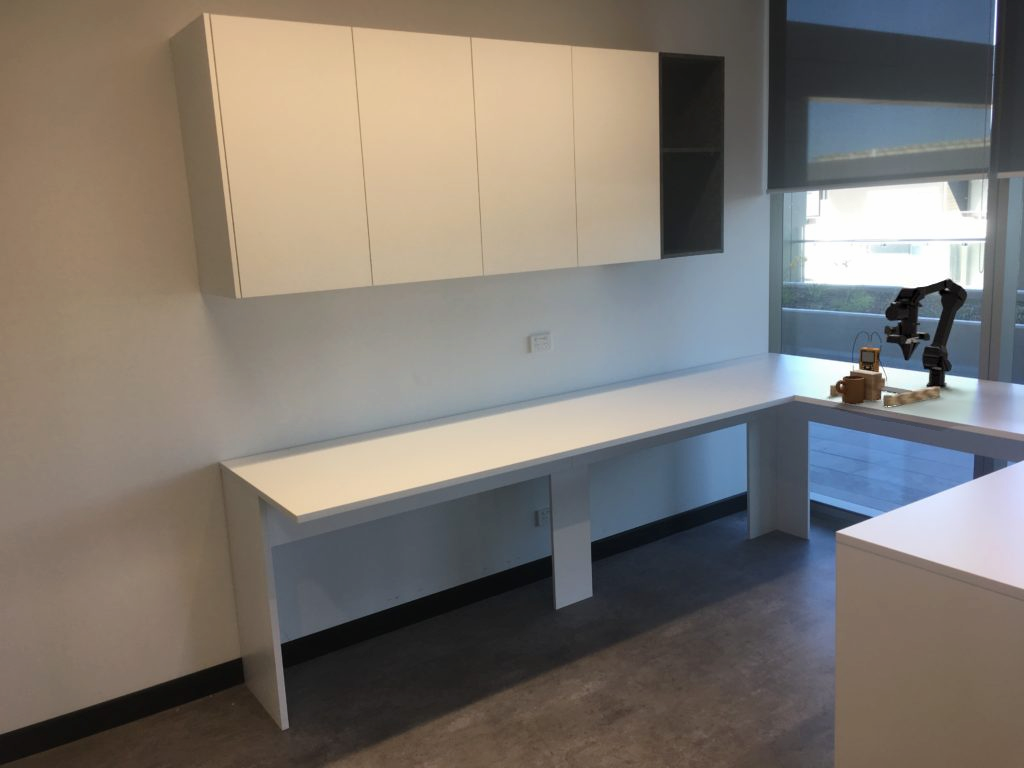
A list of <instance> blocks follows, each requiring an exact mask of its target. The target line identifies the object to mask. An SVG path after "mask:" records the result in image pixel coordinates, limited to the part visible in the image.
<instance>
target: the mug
mask: <svg viewBox="0 0 1024 768" xmlns="http://www.w3.org/2000/svg"><path fill="white" fill-rule="evenodd" d="M835 385H836V386H835V387H836V390H837V392H838V393H841V394H842V395H841V400H842V402H843V404H848V405H861V403H862V404H864V401H865V400H864V390H865V380H864V377H861V376H850V375H846V376H842V379H840V380H838V381H836V383H835ZM840 385H842V389H841V388H840Z"/></svg>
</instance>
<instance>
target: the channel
mask: <svg viewBox="0 0 1024 768" xmlns="http://www.w3.org/2000/svg"><path fill="white" fill-rule="evenodd" d="M885 381H886V377H882V387H884V386H886V382H885ZM835 386H836V384H831V385H829V387H830V388H829V389H830V390H829V396H830V395H831V396H830V397H833V396H836V397H839V396H838V395H841V396H842V394H841V393H838V392H837V390H836V387H835ZM840 388H841V389H842V384H841V385H840ZM938 396H939V397H940V396H941V387H936V386H935V387H934V386H929V387H926V388H921V389H916V390H912V391H910V392H905V393H900V394H896V393H895V394H885V395H883V404H882V406H887V407H886V408H889V407H888V406H892V407H895V406H894V405H897V406H900V405H899V404H902V405H906V404H910V402H911V403H915V401H916V402H921V401H925V400H929V399H928V398H930V399H934V398H933V397H935V398H939V397H938ZM924 399H925V400H924ZM920 400H921V401H920ZM905 403H906V404H905Z"/></svg>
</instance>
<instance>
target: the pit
mask: <svg viewBox="0 0 1024 768" xmlns="http://www.w3.org/2000/svg"><path fill="white" fill-rule="evenodd" d="M885 391H887V392H886V393H891V392H893V393H892V394H896V393H898V394H900V393H905V392H910V391H913V390H911V389H904V388H899V387H892V386H887V385H885V386H884V387H882V389H881V392H885Z"/></svg>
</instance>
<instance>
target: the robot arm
mask: <svg viewBox="0 0 1024 768" xmlns="http://www.w3.org/2000/svg"><path fill="white" fill-rule="evenodd" d="M934 293H937V294H938V295H939V296H940V304H941V307H942V310H941V313H940V318H939V320H938V324H937V327H936V329H935V333H934V337H933V339H932V342H931V344H929V346H928V345H926V346H925V347H924V349H923V353H922V355H921V357H922V358H921V362H922V366H923V370H928V382H927V383H926V387H935V386H936V387H940V388H946V386H947V384H948V383H947V382H946V372H947V373H949V372H951V371H952V367H953V365H952V363H951V362H950V360H949V359H948V358H949V357H948V356H949V353H948V349H947V344H948V341H949V338H950V334H951V331H952V328H953V325H954V321H955V317H956V314H957V312H958V311H959V310H960V309H961V308H962V307H963V306H964V305H965V302H966V300H967V297H968V293H967V291H966V289H965V288H964V287H963V286H961V285H960V284H958V283H956V282H954V281H953V280H952V279H951V278H950V277H948V278H947V277H945V278H944V277H938V278H936V279H933V280H931V281H928V282H925V283H922V284H919V285H918V284H917V285H904V286H902V287H901V289H900V290H899V292H898V294H897V296H896V298H895V299H894V301H893V302H890V305H889V306H888V307H887V308H886V309H885V311H884V315H885V318H886V320H887V321H890V322H895V321H896V322H897V321H898V322H897V326H892V325H890V324H889V325H885V326H884V330H883V331H884V332H883V333H884V335H886V337H885V343H889V344H895V345H896V344H897V345H898V346H899V347H900V349H901V351H902V355H903V358H904V360H905V361H909V360H910V359H911V357H912V356H913V354H914V352H915V351H916V350H917V348H918V346H919V345H920V344H921V342H920V341H918V340H922V341H925V342H927V341H930V340H931V334H929V332H920V331H919V332H918V326H921V322H919V310H920V309H919V308H923V305H922V304H921V301H922V300H924V299H925V298H926V296H928V295H931V294H934Z"/></svg>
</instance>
